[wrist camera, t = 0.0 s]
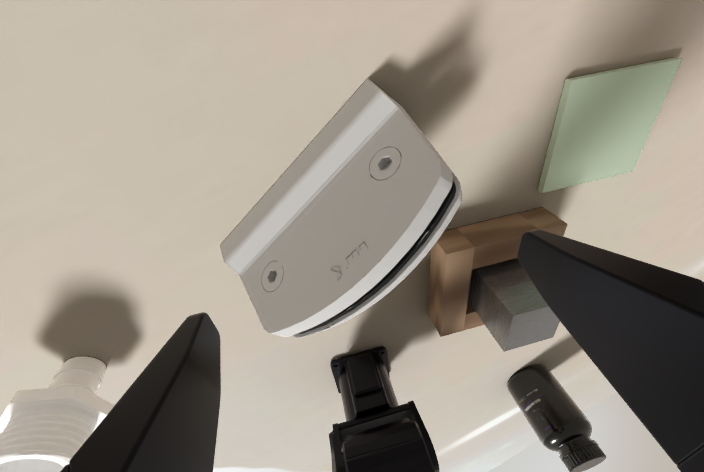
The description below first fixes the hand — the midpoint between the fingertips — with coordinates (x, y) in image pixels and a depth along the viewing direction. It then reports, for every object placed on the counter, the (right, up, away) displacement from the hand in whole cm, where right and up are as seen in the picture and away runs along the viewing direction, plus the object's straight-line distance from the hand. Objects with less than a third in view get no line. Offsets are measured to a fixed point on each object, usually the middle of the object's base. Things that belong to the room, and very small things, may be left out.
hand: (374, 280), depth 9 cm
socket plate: (+12, -2, +23) cm, 26 cm away
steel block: (+12, -2, +23) cm, 26 cm away
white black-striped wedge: (-3, +4, +15) cm, 16 cm away
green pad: (+20, +10, +17) cm, 28 cm away
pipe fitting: (-24, -10, +19) cm, 33 cm away
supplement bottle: (+26, -21, +40) cm, 52 cm away
